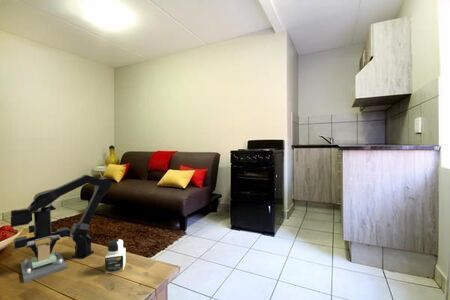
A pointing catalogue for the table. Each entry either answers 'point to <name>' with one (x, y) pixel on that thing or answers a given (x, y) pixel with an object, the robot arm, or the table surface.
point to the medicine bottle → (115, 256)
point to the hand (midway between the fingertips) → (43, 256)
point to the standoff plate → (42, 268)
